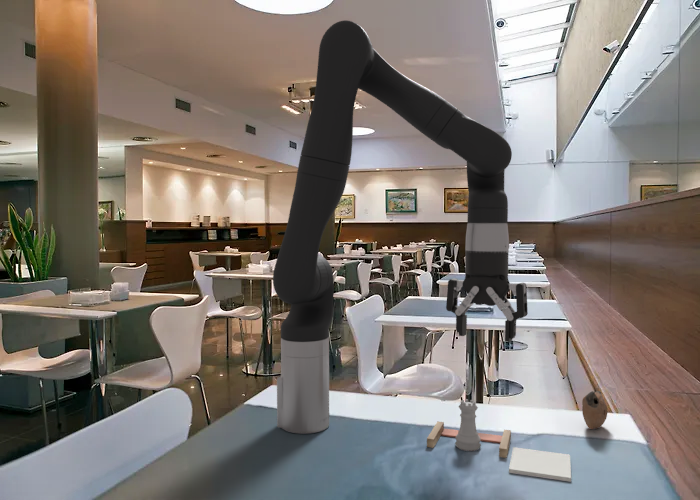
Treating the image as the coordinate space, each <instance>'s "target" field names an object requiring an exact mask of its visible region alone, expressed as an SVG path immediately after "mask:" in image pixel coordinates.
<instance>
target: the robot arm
mask: <svg viewBox="0 0 700 500" xmlns="http://www.w3.org/2000/svg"><path fill="white" fill-rule="evenodd" d="M314 90H315V91H314V97H313V103H312V107H311V110H310V113H309V114H310V115H309V118H308V121H307V126H306V131H305V134H304V139H303V144H302V148H301V152H300V156H299V162H298V167H297V173H296V179H295V185H294V189H293V190H294V191H293V194H292V200H291V204H290V209H289V215H288V219H287V224H286V228H285V232H284V235H283V238H282V242H281V244H280V248H279V252H278V255H277V258H276V262H275V265H274V269H273V275H272V283H273V288H274V292H275V294H276V296H277V297H278V298H279V299H280V300H281V301H282V302H283V303H286V304H289V305H290V309H289V312H288V314H287V316H286V317H285V319H284V320H283V321H282V322H281V325H280V376H278V377H277V378H276V405H277V406H276V414H277V416H276V420H277V421H276V422H277V423H276V425H277V426H276V427H277V428H279V429H280V428H281V429H283V430H284V431H286V432H289V433H293V434H306V435H307V434H314V433H319V432H323V431H324V430H326V429H328V427H330V341H329V340H330V327H331V325H332V321H333V317H334V316H333V314H334V292H335V291H334V290H335V289H334V288H335V286H334V285H335V282H334V281H335V280H334V273H333V268H332V266H331V264H330V262H329V261H328V260H327V259H326V258H325V257H324V256H322V255H320V254H319V252H320V251H319V250H320V246H321V242H322V237H323V234H324V232H325V230H326V226H327V225H328V223H329V221H330V219H331V218H332V215H333V214H334V212H335V210H336V209H337V206H338V205H339V203H340V201H341V199H342V197H343V196H344V195H343V194H344V192H345V189H346V185H347V180H348V175H349V171H350V166H351V161H352V153H353V150H352V149H353V137H354V136H353V132H354V108H355V102H356V98H357V94H358V91H359V90H361V91H363V92H365V93H367V94H368V95H370V96H372V97H373V98H374V99H377V100H378V101H379V102H381V103H382V104H383V105H386V106H387V107H388V108H390V109H391V110H392V111H394V113H395V114H397V115H398V116H400V117H401V118H402V119H404V120H405V121H406V123H408V124H410V125H411V126H413V127H414V129H416V130H417V131H419V132H420V133H421V134H423V135H424V136H426V137H427V138H428V139H430V140H431V141H432V142H434V144H435V143H436V144H437V145H438V146H439V147H441V148H443V149H446V150H450V151H452V152H453V153H455V154H456V155H457V156H459V157H460V158H462V159H463V160H464V161H466V178H467V190H468V191H467V192H468V199H467V222H466V223H467V224H466V233H465V249H464V250H465V256H464V257H465V258H464V259H465V263H464V264H465V266H464V273H465V274H464V276H465V277H464V279H463V280H461V279H458V278H456V277H455V278H450V279H449V280H448V282H447V291H446V292H447V294H446V304H445V305H446V306H445V308H446V310H447V312H451V313H453V314H454V315H455V330H456V333H458V336H459V337H465V336H467V326H468V325H467V324H468V320H467V319H468V316H467V314H466V313H467V312H468V310H470V308H471V307H472V306H473V305H474V304H475V305H478V306H481V305H486V306H489V307H493V306H496V307H497V308H498V309H499V311H501V313H502V314H503V315H504V317H505V318H506V320H505V321H504V325H505V326H504V341H505V342H507V343H510V342H512V341H513V339H515V337H516V336H517V332H516V331H517V320H518V319H519V320H520V319H523V318H524V317H526V316H527V315H528V293H527V291H528V290H527V288H528V287H527V286H528V285H527V284H526V282H519V283H510V281H509V251H510V250H509V249H510V240H509V235H510V234H509V227H508V226H509V225H508V221H509V220H508V219H509V217H508V216H509V215H508V214H509V209H508V208H509V202H508V201H509V200H508V197H507V194H506V192H505V171H506V169H507V168H508V166H509V165H510V164H511V160H512V148H511V145H510V144H509V142H508V141H507V140H506V139H505V137H503V136H502V135H501V134H499V133H498V132H497V131H495V130H493V129H492V128H490V127H488V126H486V125H484V124H483V123H481V122H480V121H479V122H478V121H477V120H475V119H473V118H471V117H469V116H468V115H466V114H464V112H463V111H461V110H460V109H458V108H457V107H456V106H454V105H453V104H452V103H451V102H449V101H448V100H446V99H445V98H444V97H442V96H441V95H439V94H438V93H437V92H434V91H433V90H432V89H429V88H428V87H425V86H424V85H422V84H420V83H418V82H416V81H414V80H412V79H411V78H409V77H407V76H406V75H404V74H403V73H402V72H400V71H399V70H397V69H395V68H394V67H393V66H392V65H391V64H390V63H389V62H387V61H386V60H385V59H384V57H382V55H380V54H379V52H378V51H377V50H376V49H375V48H374V46H373V43H372V41H371V39H370V37H369V35H368V33H367V31H366V30H365V29H364V28H363V27H362V26H361V25H359V24H358V23H357V22H355V21H352V20H349V19H348V20H339V21H337V22H334V23H333V24H332V25H330V27H329V28H328V29H326V30H325V32H324V33H323V35H322V38H321V41H320V43H319V49H318V61H317V72H316V81H315V89H314ZM462 288H463V289H464V291H465V293H466V294H467V295H466V296H465V297H464V298H463V300H462V301H461V302H460V303H461V304H459V305H458V298H459V291H462ZM509 291H512V295H513V296H515V300H516V302H515V303H516V310H515V309H514V307H513V306H512V304H511V302H510V300H509V299H508V298H507V296H506V295H507V294H508V293H509Z"/></svg>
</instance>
